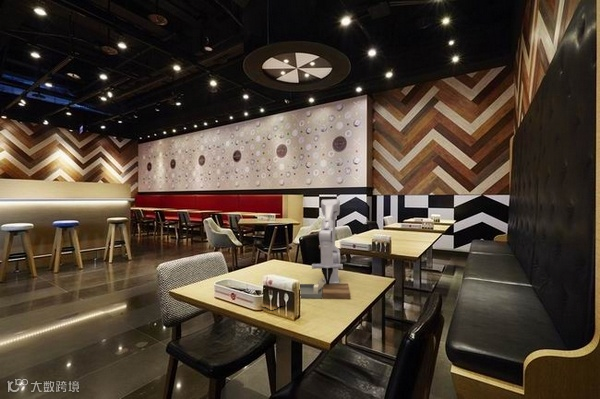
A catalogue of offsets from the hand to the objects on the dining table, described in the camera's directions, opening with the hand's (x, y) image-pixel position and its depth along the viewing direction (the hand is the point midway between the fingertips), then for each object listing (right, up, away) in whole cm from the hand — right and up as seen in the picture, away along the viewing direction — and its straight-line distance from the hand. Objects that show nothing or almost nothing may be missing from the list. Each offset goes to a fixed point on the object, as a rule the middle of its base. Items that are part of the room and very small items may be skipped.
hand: (327, 283), depth 125 cm
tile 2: (-2, -1, 0) cm, 3 cm away
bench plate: (+3, -3, -3) cm, 6 cm away
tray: (-9, -4, -2) cm, 10 cm away
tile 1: (-5, -1, -5) cm, 7 cm away
